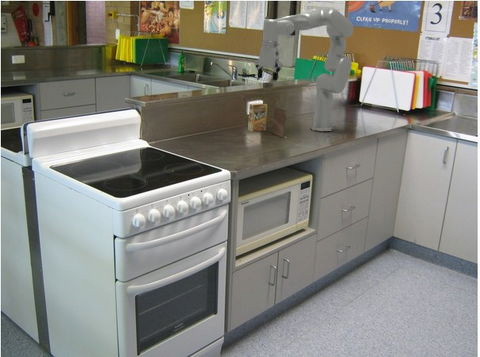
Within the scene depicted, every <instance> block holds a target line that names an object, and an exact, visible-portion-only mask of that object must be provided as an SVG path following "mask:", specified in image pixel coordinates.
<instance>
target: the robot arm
mask: <svg viewBox="0 0 480 357" xmlns="http://www.w3.org/2000/svg"><path fill="white" fill-rule="evenodd" d="M323 26H326V33H327V35H328V37H329V40H330V46H329V49H328V52H327V56H326V58H325V61H324V69H325V71H327V72H330V73H331V74H329V73H322V74H319V75H318V77H317V78H316V81H315V87H316V89H315V91H316V95H315V97H316V98H315V104H314V105H315V106H314V107H315V108H314V114H313V123H312V124H313V125H312V126H313V127H315V128H323V129H324V128H330V127H332V126H337V127H338V123H332V115H333V106H334V95H333V94H341V93H342V92H343V91H344V90H345V88H346V85H347V82H348V79H349V76H350V73H351V71H352V61H351V59H350V58H349V57H348V56H346V55H345V52H346V49H347V43H346V38H350V37H351V36H352V35H353V34H354V31H355V30H354V25H353V23H352V21H350V20H349V19H348V18H347V17H346V16H344V14H342V13H341V12H340V11H338V10H337V9H335V8H319V9H316V10H312V11H308V12H305V13H298V14H294V15H287V16H284V17H279V18H275V19H272V18H268V19H267V18H266V19H264V21H263V30H262V45H261V48H260V51H259V58H258V59H255V60H254V65H255V68H256V70H257V78H258V79H262V78H263V73H264V71H263V69H264V68H268V69H272V70H273V73H272V74H273V75H272V81H278V78H279V73H280V71H281V70H282V68H283V66H284V64H283V63H282V62H281V61H280V50H279V46H280V43H278V42H279V39H278V38H279V36H290V35H292V34H293V33H294V32H295V31H310V30H312V29H316V28H320V27H323ZM332 73H334V74H332ZM332 128H333V127H332Z"/></svg>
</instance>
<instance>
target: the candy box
mask: <svg viewBox="0 0 480 357" xmlns="http://www.w3.org/2000/svg"><path fill="white" fill-rule="evenodd" d="M248 107H249V110H248V124H247V125H248V126H247V131H250V132H253V133H254V132H266V130H267V129H266V128H267V115H268V104H266V103H249V106H248Z"/></svg>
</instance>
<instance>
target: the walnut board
mask: <svg viewBox="0 0 480 357" xmlns="http://www.w3.org/2000/svg"><path fill="white" fill-rule="evenodd" d="M286 118H287V109H284V108H281V107H278V106H274V109H273V121H272V122H273V123H272V131H271V132H272V134H273V135H275V136H278V137H279V138H285V137H284V136H285V130H286V120H287V119H286Z"/></svg>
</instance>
